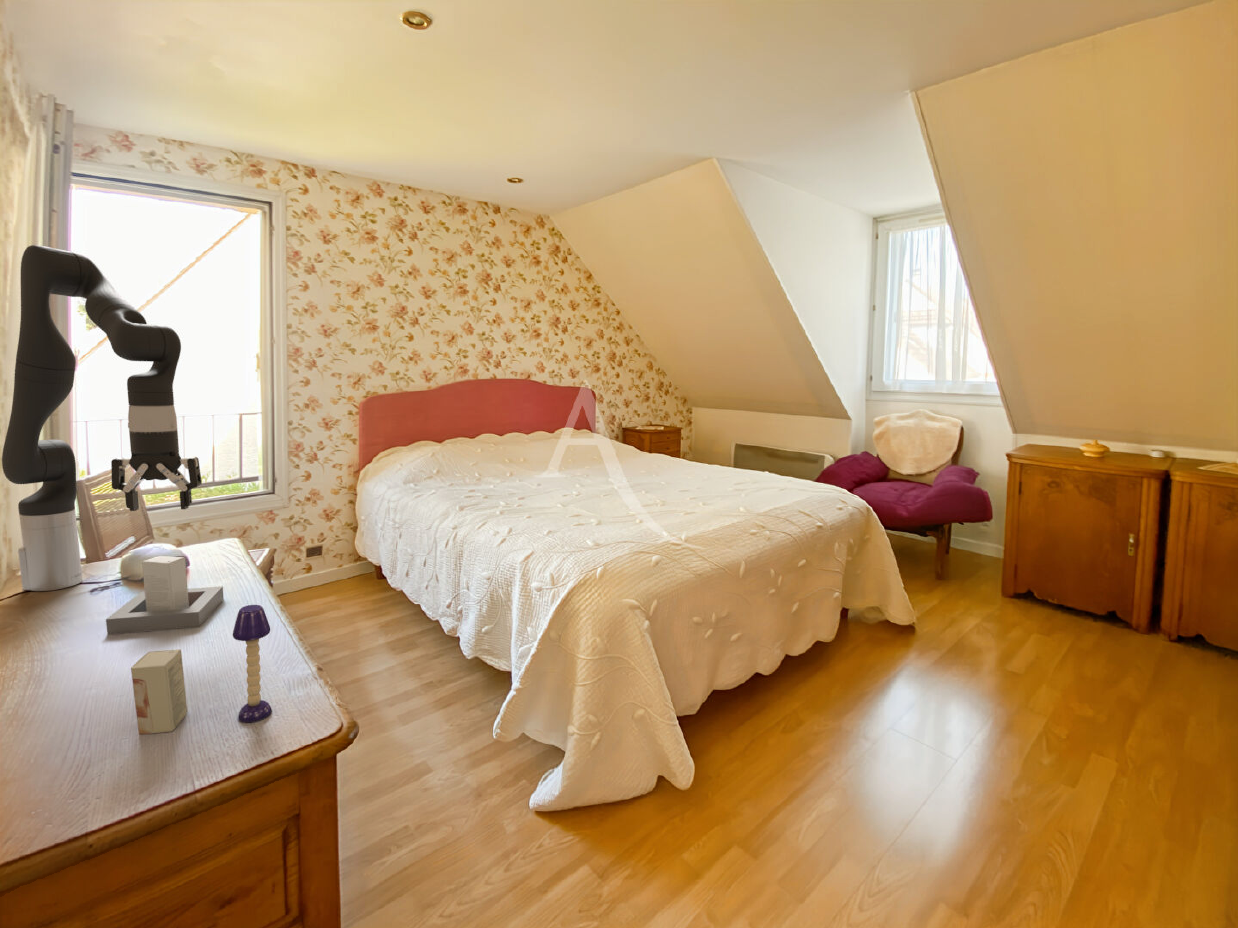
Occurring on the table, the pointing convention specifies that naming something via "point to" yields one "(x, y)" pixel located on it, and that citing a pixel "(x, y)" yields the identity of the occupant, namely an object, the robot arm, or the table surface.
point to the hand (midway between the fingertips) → (159, 509)
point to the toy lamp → (252, 659)
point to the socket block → (165, 613)
